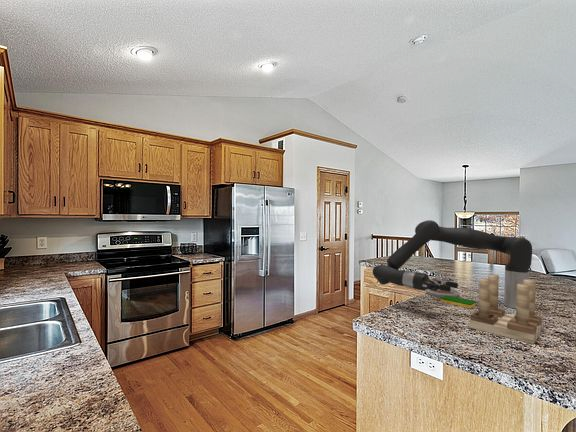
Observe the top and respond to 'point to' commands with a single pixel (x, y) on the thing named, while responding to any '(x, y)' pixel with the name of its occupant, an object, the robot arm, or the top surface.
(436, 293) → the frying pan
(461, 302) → the dish sponge
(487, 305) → the stool leg
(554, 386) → the top surface
